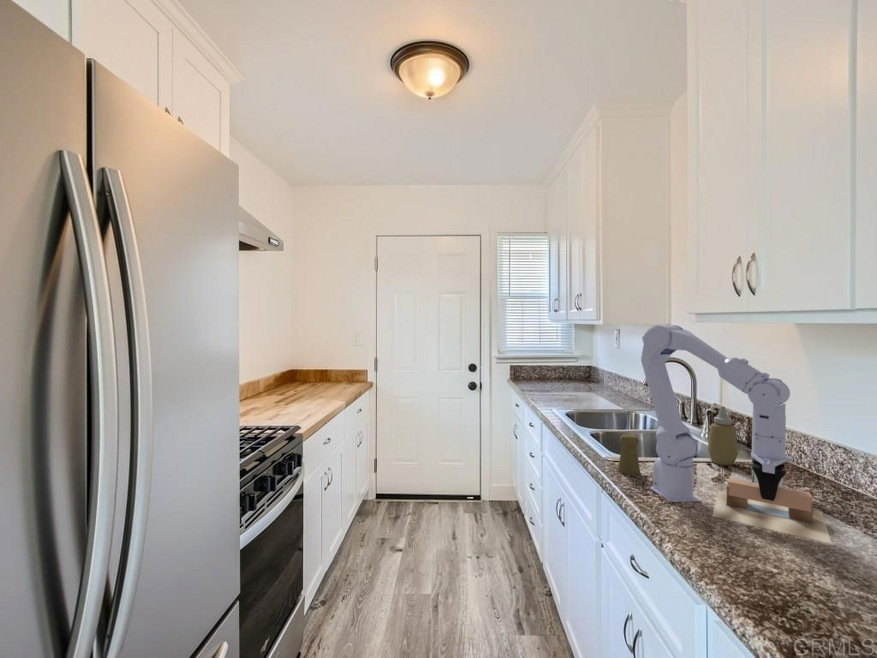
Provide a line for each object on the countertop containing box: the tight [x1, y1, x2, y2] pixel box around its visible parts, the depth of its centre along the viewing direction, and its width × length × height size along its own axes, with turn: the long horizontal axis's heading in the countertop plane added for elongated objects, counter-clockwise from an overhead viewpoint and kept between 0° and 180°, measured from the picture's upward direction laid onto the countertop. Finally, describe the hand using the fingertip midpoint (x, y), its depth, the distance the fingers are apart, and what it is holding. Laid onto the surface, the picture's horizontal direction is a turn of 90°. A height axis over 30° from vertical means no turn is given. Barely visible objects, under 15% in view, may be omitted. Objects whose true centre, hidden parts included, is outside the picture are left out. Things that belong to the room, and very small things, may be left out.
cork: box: [617, 433, 641, 476], centre depth 127 cm, size 6×6×11 cm
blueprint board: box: [712, 481, 833, 545], centre depth 97 cm, size 20×18×5 cm
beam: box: [728, 477, 813, 512], centre depth 92 cm, size 14×3×3 cm, turn 52°
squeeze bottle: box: [707, 405, 739, 466], centre depth 134 cm, size 8×8×18 cm
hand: (767, 496), depth 92 cm, fingers closed on beam, 3 cm apart
